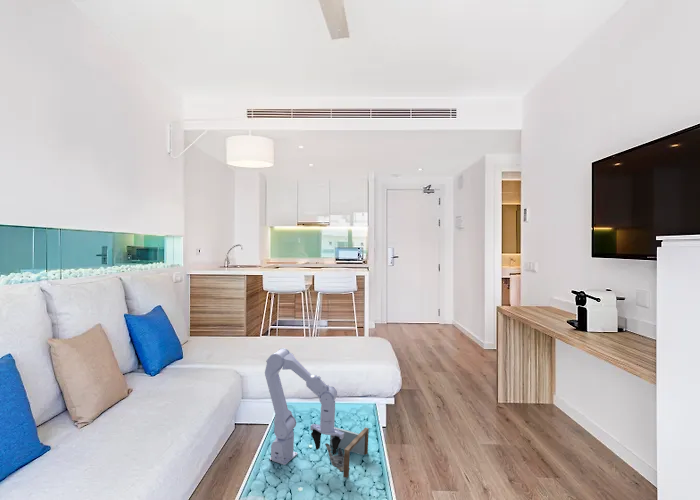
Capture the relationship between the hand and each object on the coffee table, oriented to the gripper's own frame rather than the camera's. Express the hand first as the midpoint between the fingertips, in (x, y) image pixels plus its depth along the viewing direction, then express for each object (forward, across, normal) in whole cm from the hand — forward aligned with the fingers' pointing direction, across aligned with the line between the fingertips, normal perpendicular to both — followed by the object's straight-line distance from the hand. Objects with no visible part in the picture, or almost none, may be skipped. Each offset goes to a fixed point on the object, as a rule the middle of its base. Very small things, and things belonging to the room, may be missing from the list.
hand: (326, 451), depth 164 cm
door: (+5, -3, -12) cm, 14 cm away
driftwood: (+6, -2, -6) cm, 9 cm away
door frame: (+5, -11, -5) cm, 13 cm away
